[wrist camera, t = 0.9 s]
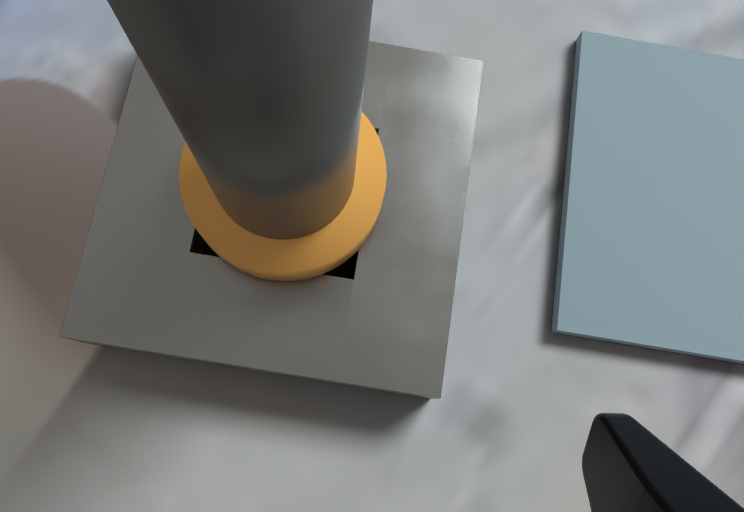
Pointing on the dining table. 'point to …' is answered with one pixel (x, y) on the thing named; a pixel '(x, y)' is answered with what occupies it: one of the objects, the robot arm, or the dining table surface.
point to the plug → (268, 125)
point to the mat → (653, 200)
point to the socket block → (301, 297)
